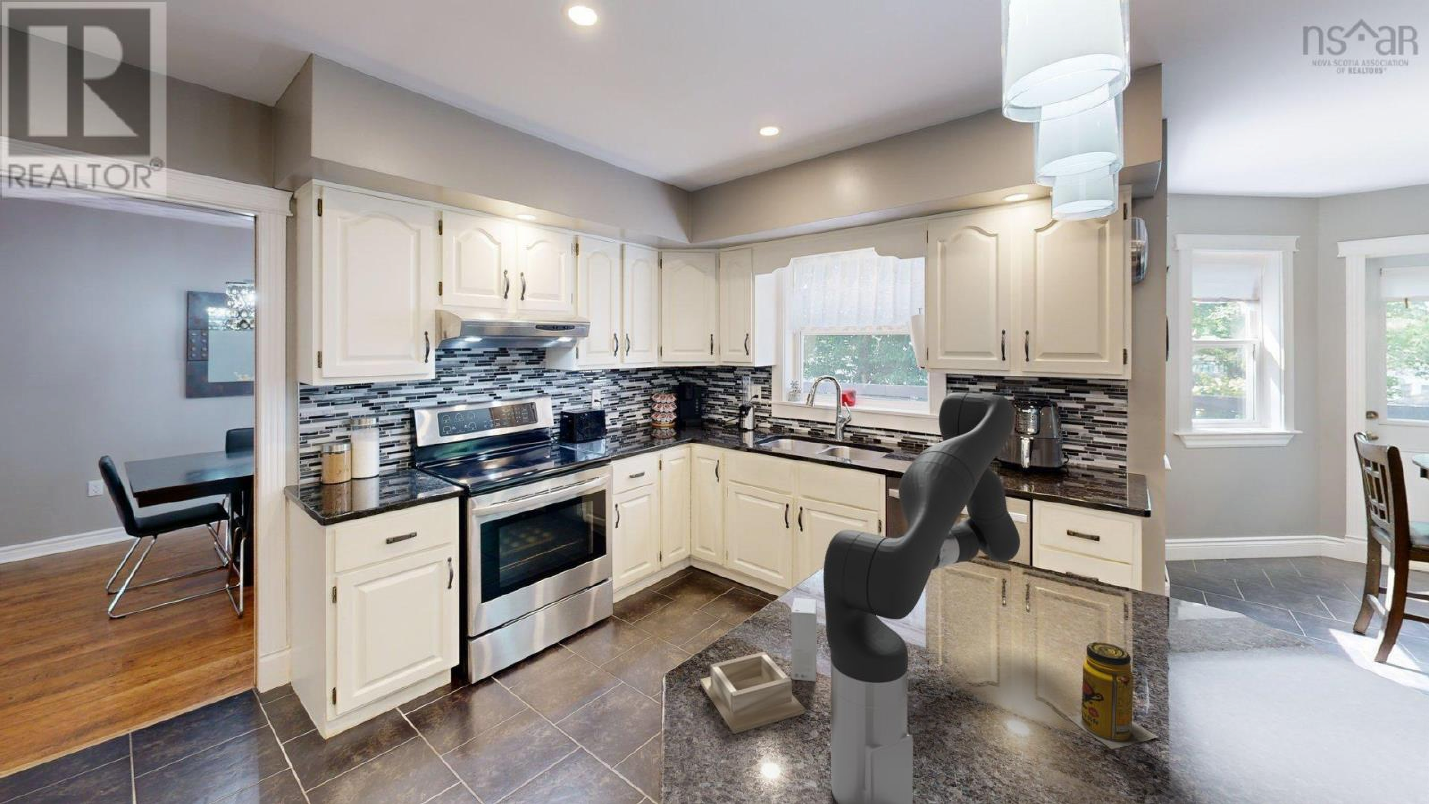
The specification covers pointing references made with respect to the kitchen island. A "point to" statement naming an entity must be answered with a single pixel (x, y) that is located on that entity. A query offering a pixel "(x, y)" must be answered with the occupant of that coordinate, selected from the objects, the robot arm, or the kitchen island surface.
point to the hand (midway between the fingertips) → (856, 563)
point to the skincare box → (804, 639)
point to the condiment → (1109, 697)
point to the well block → (751, 692)
